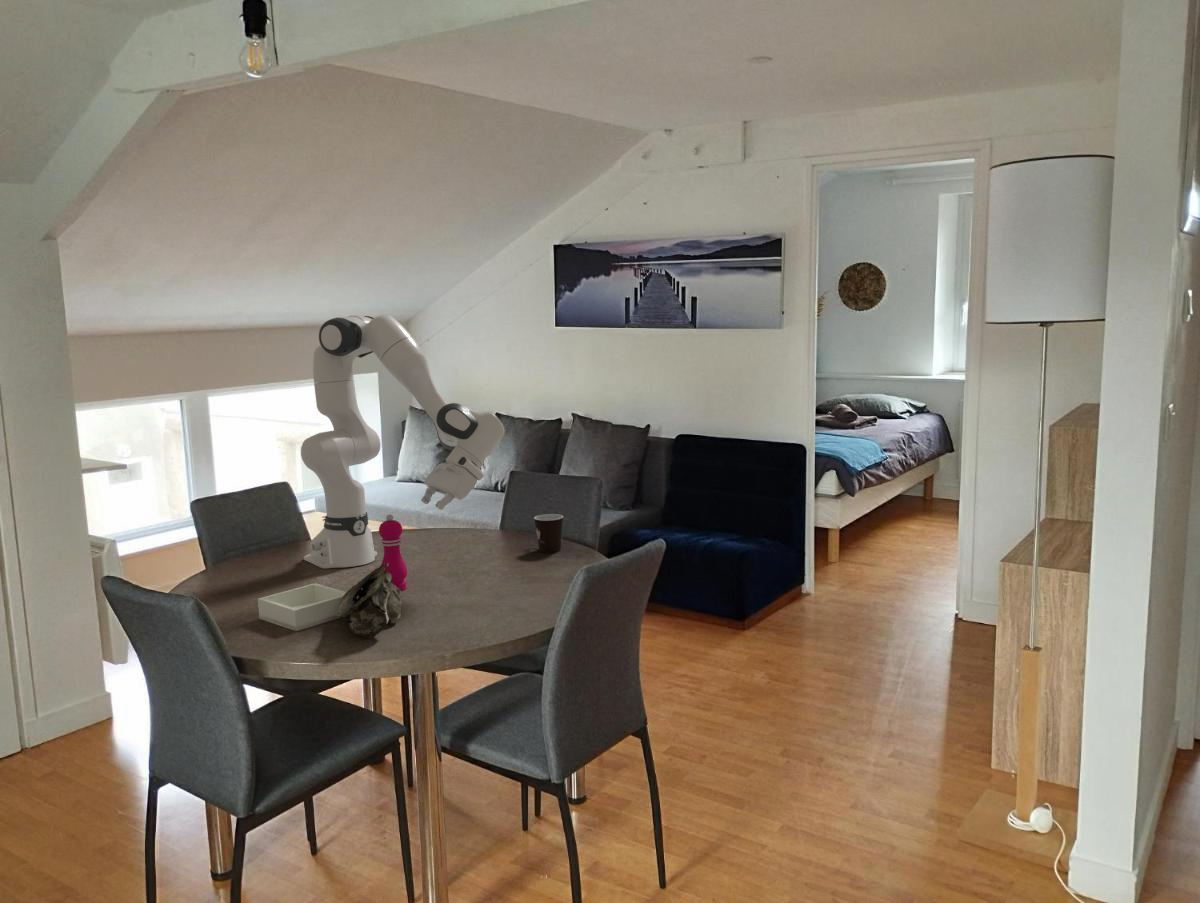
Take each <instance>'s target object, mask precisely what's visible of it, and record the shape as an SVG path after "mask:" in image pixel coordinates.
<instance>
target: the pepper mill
mask: <svg viewBox="0 0 1200 903" xmlns="http://www.w3.org/2000/svg"><path fill="white" fill-rule="evenodd" d="M385 518H386V520H384V521H383V522H381V524H380V525H379V528H378V534H379V537H381V538H382V539H381V545H382V546H383V557H382V558H383V559H382V561H381V564H380V566H382V565H383V564H387V563H388V567H385V570H384V571H388V572H389V573H390V574H391V577H392V579H391V582H390V583H392V584H394V585H395V586H396V587H397V588H399V589H400V591H401V592H402V591H405V590H406V589H407V581H406V580H405V578H406V577H407V576H408V569H407V565H406V563H405V561H404V559H403V557H402V553H401V548H400V547H401V546H400V545H401V544H402V538H401V537H400V536H401V535H402V534H403V527H402V524H401V522H400V521H397V520H395V519H394V515H393V514H391V513H390V514H387V515H386V517H385Z"/></svg>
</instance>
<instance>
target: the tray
mask: <svg viewBox="0 0 1200 903" xmlns="http://www.w3.org/2000/svg"><path fill="white" fill-rule="evenodd" d="M346 592H347V591H344V590H342V589H337V588H335V587H330V586H326V585H324V584H321V583H320V584H319V583H316V582H315V583H311V584H307V585H303V586H299V587H296V588H292V589H288V590H284V591H281V592H278V593H277V592H276V593H274V594H270V595H266V596H263V597H259V598H257V606H258V616H259V617H258V618H259V620H262V621H264V622H268V623H271V624H273V625H277V626H280V627H283V628H285V629H289V630H291V631H294V632H299V631H301V630H305V629H308V628H312V627H315V626H318V625H321V624H324V623H327V622H332V621H334V620H338V619H342V617H339V616H336V615H337V613H338V612H339V609H340V606H341V605H340V604H339V603H340V602H341V600H342V597H343V596H344V595H345V593H346ZM346 617H349V613H348V614H347V616H346Z"/></svg>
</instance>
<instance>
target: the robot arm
mask: <svg viewBox="0 0 1200 903" xmlns="http://www.w3.org/2000/svg"><path fill="white" fill-rule="evenodd" d="M318 340H319V345H317V347H316V348H315V349H314V352H313V358H312V359H313V361H312V363H313V365H312V368H313V369H312V371H313V372H312V375H313V384H314V385H313V386H314V395H315V403H316V408H317V409H316V410H317V411H318V412H319V413H320V414H321V415H323V416H325V417H327V418H328V419H329V421H330V422H331V425H332V427H333V430H329V431H322V432H318V433H315V434H314V435H311V436H309V437H307V438H306V439H305V440H304V441H303V442H302V444H301V448H300V457H301V460H302V462H303V463H304V465H305V467H306V468H308V469H309V470H311V471H312V472H313V473H315V475H316V476H317V477H318V479H319V481H320V483H321V485H322V488H323V492H324V499H325V501H324V502H325V507H326V508H325V509H326V515H325V516H322V517H321V518H323V519H322V521H323V522H324V523H323V528H322V529H321V530H320V531H319V533H318V534H317V535H315V537H313V539H312V540H311V553H308V554H306V555H305V556H304V555H303V556H304V557H303V560H304V561H306V562H309V563H310V564H312V565H315V566H317V567H318V568H320V569H333V568H334V569H335V568H351V567H357V566H363V565H367V564H370V563H372V562H374V561H375V560H376V558H375V557H377V556H378V552H377V550H375V548H374V542H373V540H374V539H373V535H372V534H373V533H372V530H371V529H370V528H369V527H368V525H369V516H368V512H367V511H366V498H365V497H366V496H365V495H366V494H365V488H364V486H363V484H362V483H361V482H359V481H357V480H355V479H354V478H353V477H352V475H351V472H350V467H351V466H356V465H361V464H364V463H367V462H369V461H372V459H375V458H376V457H377V456H378V455H379V454H380V450H381V439H380V436H379V435H378V433H377V432H376V430H374V429H373V428H372V427H370V426H369V425H368V424H367V422H366V421H365V420H364V418H363V416H362V414H361V411H360V409H359V407H358V403H357V396H356V395H357V394H356V387H355V380H354V378H355V377H354V372H353V363H354V361H355V359H356V358H360V359H361V358H363V357H366V356H367V355H370V354H372V353H373V354H374V355H375V356H376V357H377V359H378V360H379V361H380V362H381V363H382V366H384V368H385V369H386V370H387V371H388V372H389V373H390V374H391V375H392V377H394V378H395V379H396V380H397V381H398V382H399V383H400V384H401V385H402V386H403V387H404V388H405V389H406V390H407V391H408V392H409V393H410V394H411V395H412V396H413V397H414V398H415V399H416V401H417V403H418V404H419V405H420V406H421V408H422V409H423V411H424V412H425V413H426V415H427V416H428V417H429V418H430V420H431V421H432V422H433V423H432V424H434V426H435V429H436V434H437V435H436V436H437V438H438V441H439V443H440V444H441V446H442V447H444V448H445V449H446V450H449V451H451V452H450V453H449V454H448V456H447V457H446V458H445V462H441V463H439V464H438V465H436V466H435V467H434V469H433V470H431V472H429V474H428V475H427V477H426V478H425V479H424V485H426V487H427V488H425V492H424V495H423V496H422V498H421V500H420V502H422V503H423V504H425V505H428V504H429V503H431V501H432V497H433V495H434V494H436V493H439V494H442V495H444V496H443V497H442V498H441V499H440V500H438V501H437V502H436V504H435V507H436V508H437V509H438V510H440V511H441V510H443V509H444V508H445V507H446V506H447V505H448V504H450V503H452V502H453V500H454V499H457V500H459V501H461V500H464V499H465V498H466V497H467V496H468V495H469V494H470V492H471V491H472V490H473V489H474V488H475V486H476V485H477V483H478V481H481V480H482V479H483V478H484V476H485V473H484V472H483V471H482V470H481V468H482V467H483V465H484V463H485V461H486V459H487V458H488V457H490V455H492V454H493V453H494V452H495V450H496V448H497V447H498V446H499V444H500V443H501V441H502V440H503V438H504V436H505V430H506V429H505V425H504V423H503V422H502V420H501V419H500V418H499V416H497V415H496V414H495V413H493V412H492V411H490V410H483V411H482V410H477V409H473V408H472V409H471V408H470V407H466V406H464V405H462V404H460V403H456V402H453V403H452V402H451V403H448V402H446V400H445V399H444V397H443V396H442V394H441V393H440V392H439V390H438V389H437V387H436V385H435V382H433V381H434V380H433V379H432V376H431V372H430V369H429V364H428V362H427V361H428V360H427V358H426V356H425V354H424V352H423V350H422V348H421V346H420V345H419V344H418V342H417V341H416V340H415V338H414V337H413V335H411V333H410V332H409V331H408V329H406V328H405V327H404V326H403V324H401V323H400V322H399V321H398V320H396V319H395V317H393V316H392V315H389V314H380V315H377V316H375V317H373V316H369V315H348V316H343V317H334V318H330V319H328V320H326V321H325V322H324V323H323V324H322V325H321V327H320V328H319V332H318Z"/></svg>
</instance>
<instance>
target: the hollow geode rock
mask: <svg viewBox="0 0 1200 903" xmlns="http://www.w3.org/2000/svg"><path fill="white" fill-rule="evenodd" d="M385 567H388V563H387V564H383V565H382V566H381V565H380V566H379V567H378V568H375V569H374V570H372V571H371V572H370V573H368V574H367V575H366V576H364V577H363V578H362V579H361V580H360V581H358V582H357V583H356V584H355V585H353V586H352V587H351V588H349V589H348V590H347V591H345V592H346V593H345V595H344V596H343V597H342V600H341V602H340V603H339V604H340V605H341V606H340V609H339V612H338V613H337V615H336V616H339V617H341V619H342V618H345V617H347V623H348V628H349V631H351V633H353V634H355V635H358V636H361V637H365V638H366V639H373V638H375V637H376V636H377V635H378V634H380V633H381V632H382V631H384V630H386V629H387V625H388V623H389V621H393V620H394V621H395V620H398V619H400V618H401V615H402V613H401V611H402V609H403V607H402V602H403V599H404V596H403V592H402V591H400V589H399V588H397V587H396V586H395V585H394V584H392V583H390V582H391V579H392V577H391V574H390V573H389V572H388V571H384V570H385ZM348 613H349V615H348V616H347V614H348Z"/></svg>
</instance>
